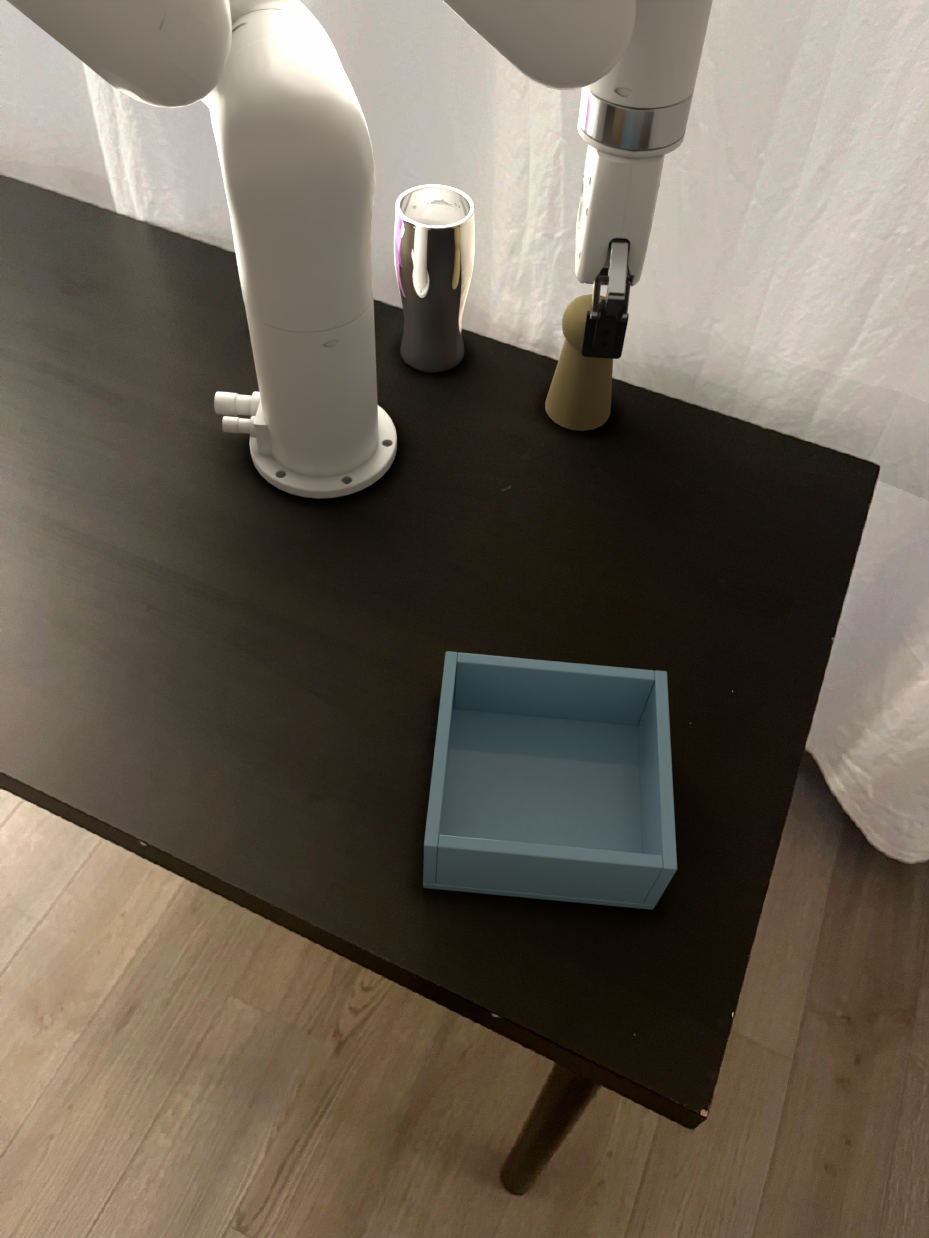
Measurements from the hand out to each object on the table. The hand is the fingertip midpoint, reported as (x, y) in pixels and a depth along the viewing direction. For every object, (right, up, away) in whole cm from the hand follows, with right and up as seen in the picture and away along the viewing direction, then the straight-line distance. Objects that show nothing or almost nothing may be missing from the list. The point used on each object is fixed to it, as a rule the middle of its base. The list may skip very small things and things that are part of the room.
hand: (600, 318), depth 80 cm
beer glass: (-14, 0, +12) cm, 19 cm away
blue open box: (-6, -37, -16) cm, 41 cm away
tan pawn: (-1, -6, +8) cm, 10 cm away
